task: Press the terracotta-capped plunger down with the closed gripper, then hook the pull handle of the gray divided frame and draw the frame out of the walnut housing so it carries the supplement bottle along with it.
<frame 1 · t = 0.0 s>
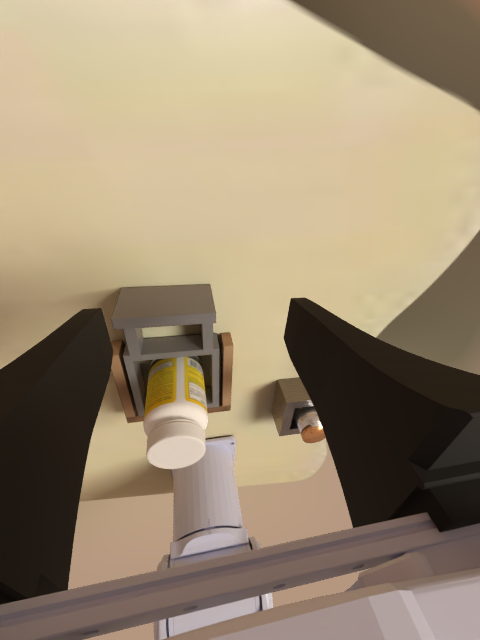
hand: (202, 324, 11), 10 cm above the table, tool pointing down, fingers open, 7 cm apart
supplement bottle: (176, 365, 26), resting in gray divided frame
plunger housing: (298, 394, 31), on the table
plunger: (309, 419, 29), point 3 cm above the table, slide at 0.0 cm
gray divided frame: (174, 364, 22), point 2 cm above the table, slide at 0.0 cm
housing: (176, 367, 25), on the table
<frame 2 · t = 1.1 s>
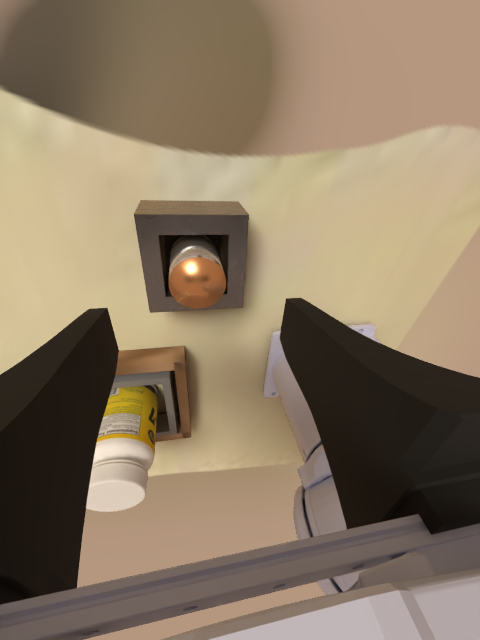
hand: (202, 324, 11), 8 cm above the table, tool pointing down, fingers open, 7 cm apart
supplement bottle: (130, 391, 24), resting in gray divided frame
plunger housing: (193, 247, 18), on the table
plunger: (196, 269, 15), point 3 cm above the table, slide at 0.0 cm
gray divided frame: (95, 417, 22), point 2 cm above the table, slide at 0.0 cm
housing: (130, 393, 24), on the table
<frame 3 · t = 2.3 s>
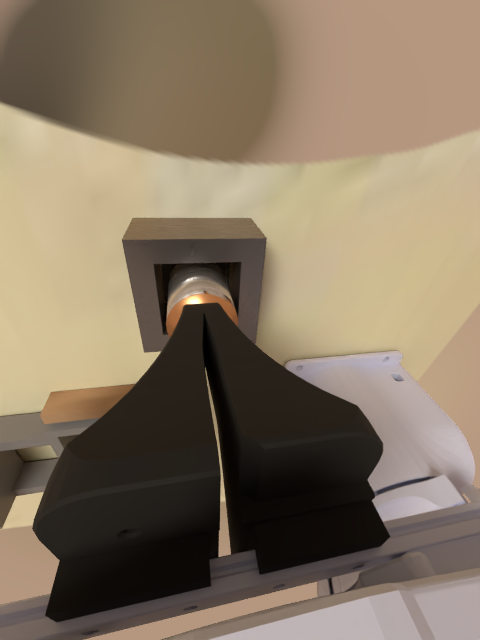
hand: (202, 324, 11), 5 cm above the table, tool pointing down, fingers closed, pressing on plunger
plunger housing: (196, 271, 15), on the table
plunger: (200, 302, 12), point 3 cm above the table, slide at 0.1 cm, touching gripper
gray divided frame: (83, 461, 19), point 2 cm above the table, slide at 0.0 cm
housing: (124, 429, 21), on the table
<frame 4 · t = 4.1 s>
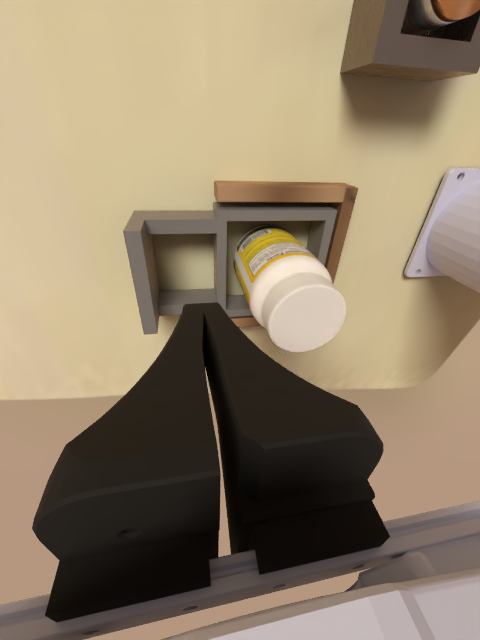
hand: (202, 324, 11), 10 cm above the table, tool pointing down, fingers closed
supplement bottle: (263, 255, 20), resting in gray divided frame
plunger housing: (406, 2, 14), on the table
gray divided frame: (236, 269, 18), point 2 cm above the table, slide at 0.0 cm
housing: (264, 256, 20), on the table
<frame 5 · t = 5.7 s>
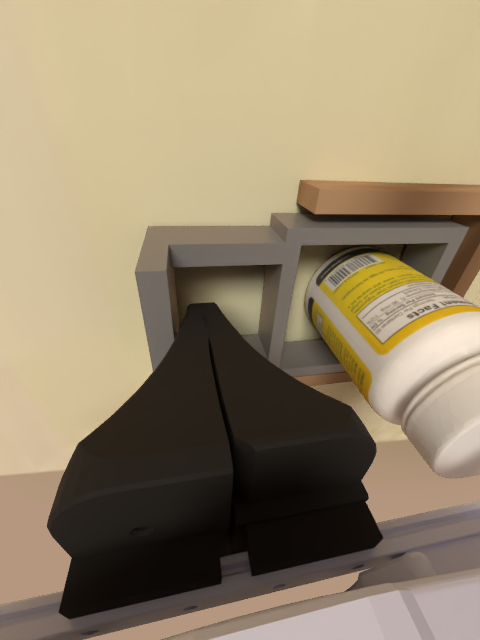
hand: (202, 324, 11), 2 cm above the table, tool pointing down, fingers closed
supplement bottle: (345, 287, 14), resting in gray divided frame
gray divided frame: (303, 316, 12), point 2 cm above the table, slide at 0.9 cm, touching supplement bottle, gripper
housing: (350, 289, 14), on the table
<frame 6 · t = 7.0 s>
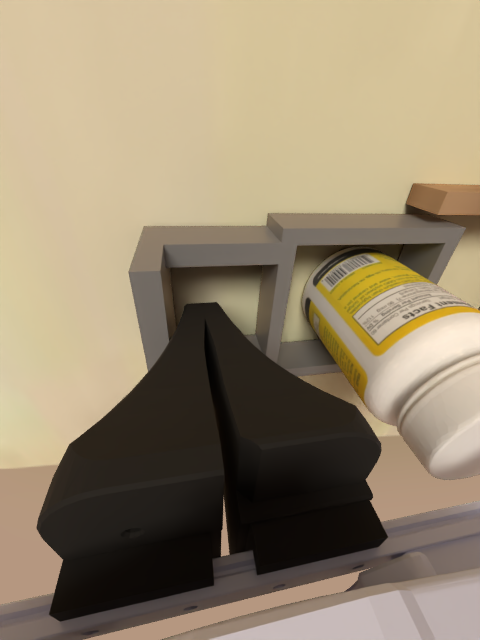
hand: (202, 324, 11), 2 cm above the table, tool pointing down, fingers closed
supplement bottle: (342, 287, 14), resting in gray divided frame
gray divided frame: (300, 316, 12), point 2 cm above the table, slide at 6.1 cm, touching gripper
housing: (434, 285, 15), on the table
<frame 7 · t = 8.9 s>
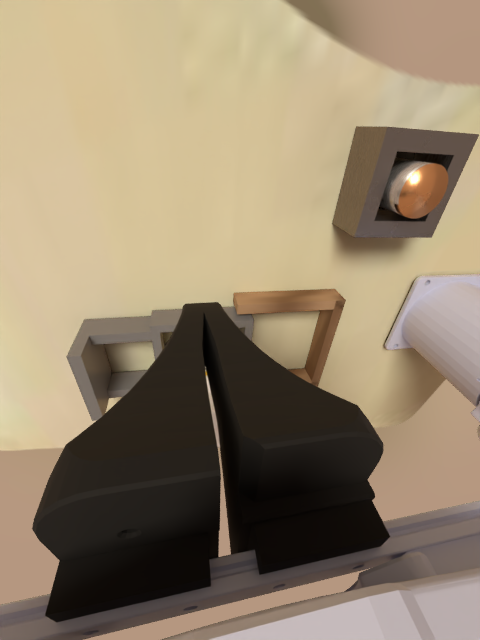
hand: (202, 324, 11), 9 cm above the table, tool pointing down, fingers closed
plunger housing: (381, 181, 18), on the table
plunger: (402, 186, 17), point 2 cm above the table, slide at 1.2 cm
gray divided frame: (173, 363, 21), point 2 cm above the table, slide at 6.1 cm
housing: (270, 339, 25), on the table
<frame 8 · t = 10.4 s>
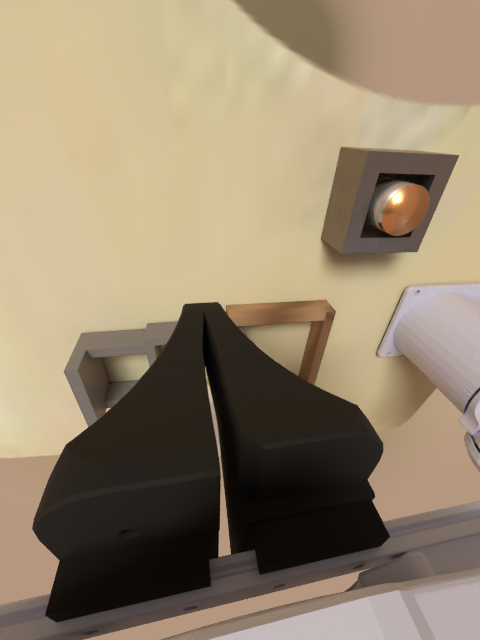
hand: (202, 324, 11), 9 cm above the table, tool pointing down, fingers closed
plunger housing: (368, 197, 19), on the table
plunger: (387, 204, 17), point 2 cm above the table, slide at 1.2 cm
gray divided frame: (168, 374, 22), point 2 cm above the table, slide at 6.1 cm
housing: (264, 348, 25), on the table
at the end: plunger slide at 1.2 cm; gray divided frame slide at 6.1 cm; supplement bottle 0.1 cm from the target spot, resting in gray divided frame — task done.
